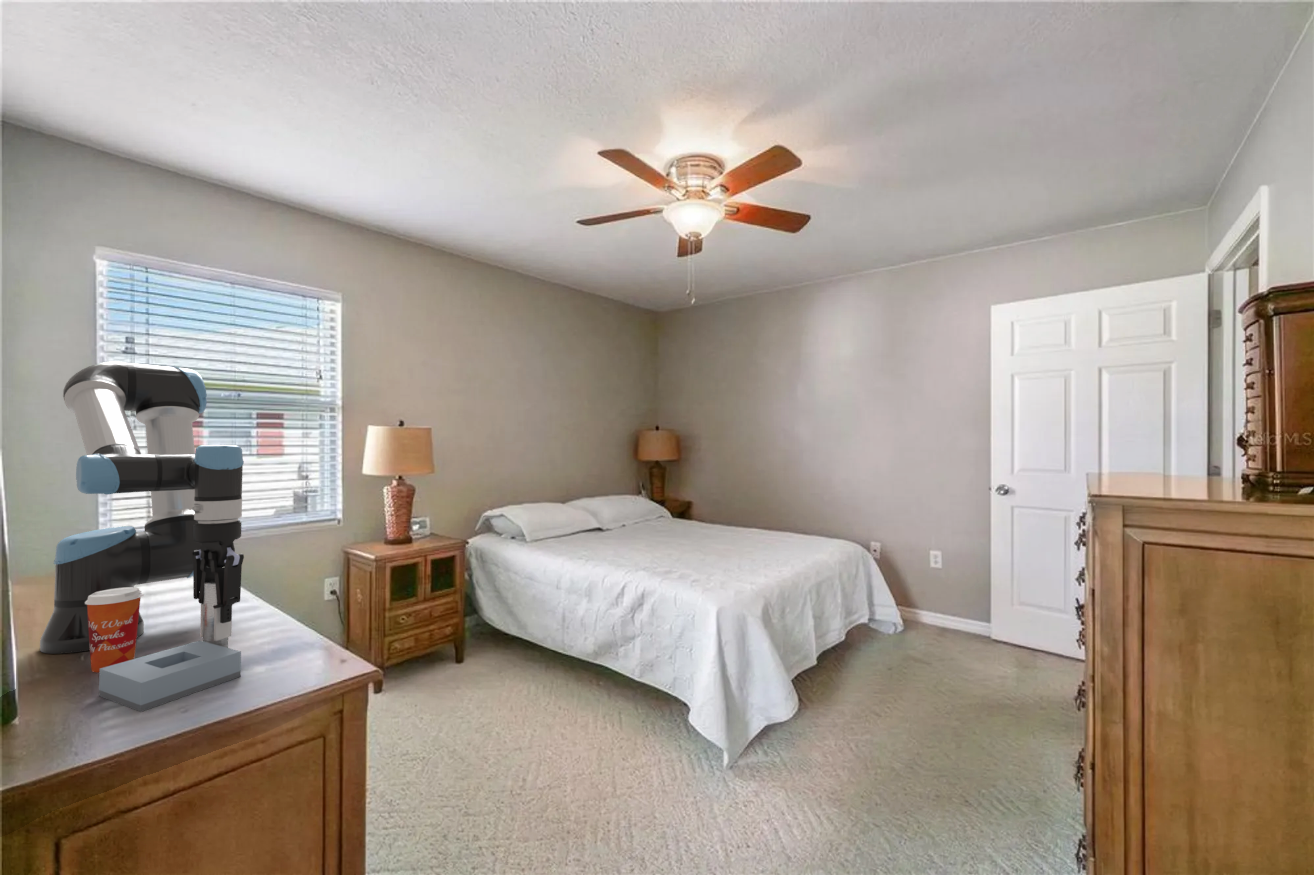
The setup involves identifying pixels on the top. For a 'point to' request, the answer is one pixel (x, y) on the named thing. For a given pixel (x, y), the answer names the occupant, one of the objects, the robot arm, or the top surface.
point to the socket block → (168, 674)
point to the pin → (210, 615)
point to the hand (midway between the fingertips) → (215, 636)
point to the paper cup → (113, 626)
